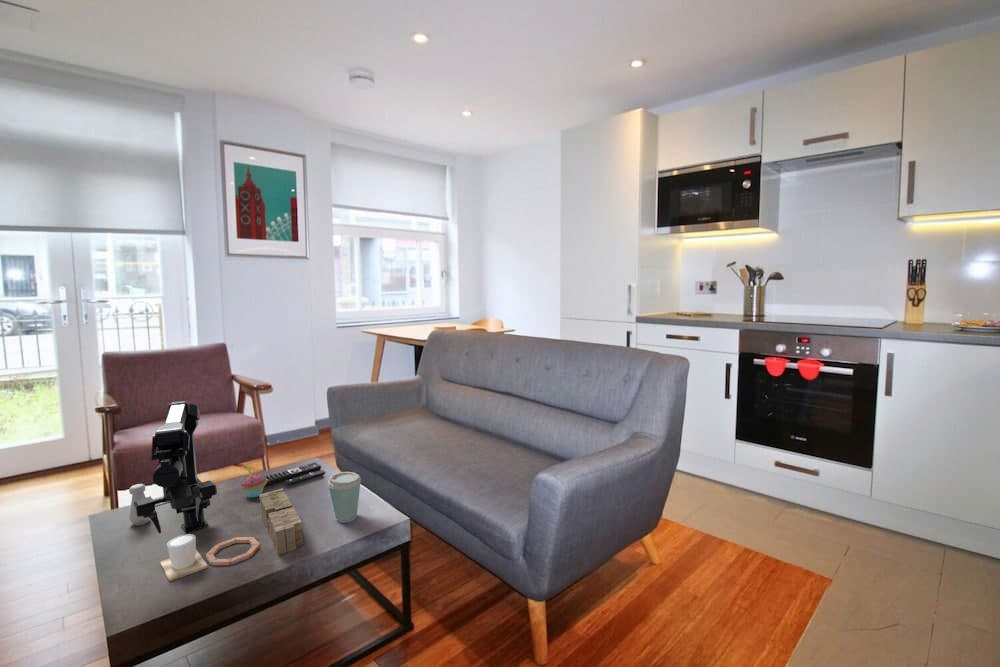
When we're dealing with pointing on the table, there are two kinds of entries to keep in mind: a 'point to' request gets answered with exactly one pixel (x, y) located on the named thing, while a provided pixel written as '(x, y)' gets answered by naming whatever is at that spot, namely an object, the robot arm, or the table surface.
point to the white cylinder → (182, 551)
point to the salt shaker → (137, 494)
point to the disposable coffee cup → (345, 495)
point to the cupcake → (253, 484)
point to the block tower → (281, 521)
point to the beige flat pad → (178, 573)
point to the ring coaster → (234, 560)
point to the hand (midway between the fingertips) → (179, 526)
